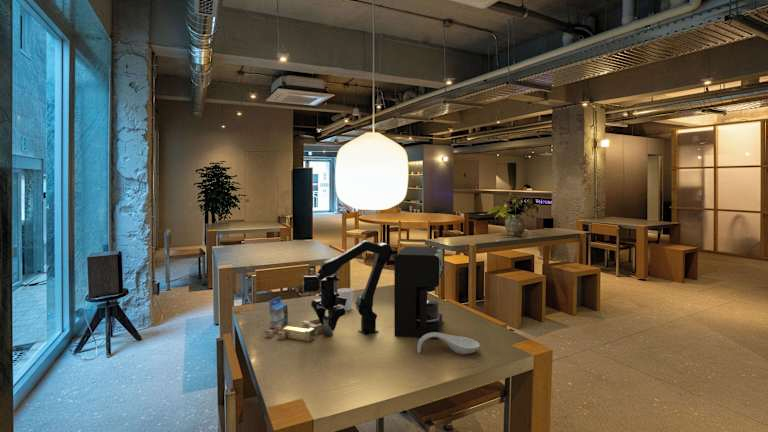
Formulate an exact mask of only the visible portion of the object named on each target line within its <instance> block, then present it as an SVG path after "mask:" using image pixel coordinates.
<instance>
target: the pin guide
mask: <svg viewBox="0 0 768 432" xmlns="http://www.w3.org/2000/svg"><path fill="white" fill-rule="evenodd" d="M274 333H277V339H279V340H286V339H287V338H286V332H283V325H282V326H279V325H275V326H274V328H273V329H269V328H268V329H265V330H264V334H265V335H264V337H265V338H266V337H267V338H272V337H274Z"/></svg>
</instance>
